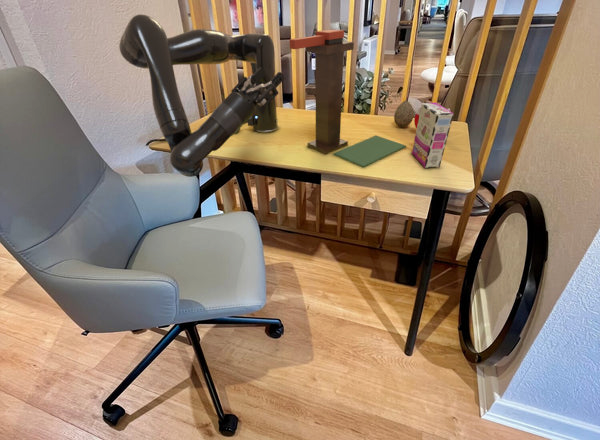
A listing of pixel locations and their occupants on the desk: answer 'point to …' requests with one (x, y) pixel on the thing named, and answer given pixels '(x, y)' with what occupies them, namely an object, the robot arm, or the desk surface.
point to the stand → (328, 95)
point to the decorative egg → (404, 114)
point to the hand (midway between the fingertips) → (272, 72)
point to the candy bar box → (431, 134)
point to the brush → (318, 39)
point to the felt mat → (369, 151)
